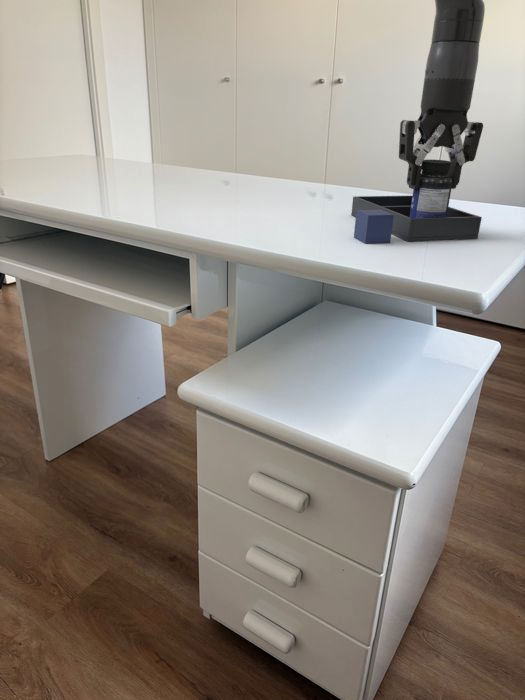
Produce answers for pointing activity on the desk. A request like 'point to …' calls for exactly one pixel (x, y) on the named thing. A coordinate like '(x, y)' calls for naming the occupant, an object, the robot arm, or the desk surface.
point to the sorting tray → (420, 219)
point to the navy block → (373, 226)
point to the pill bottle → (432, 190)
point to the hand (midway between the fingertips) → (432, 188)
